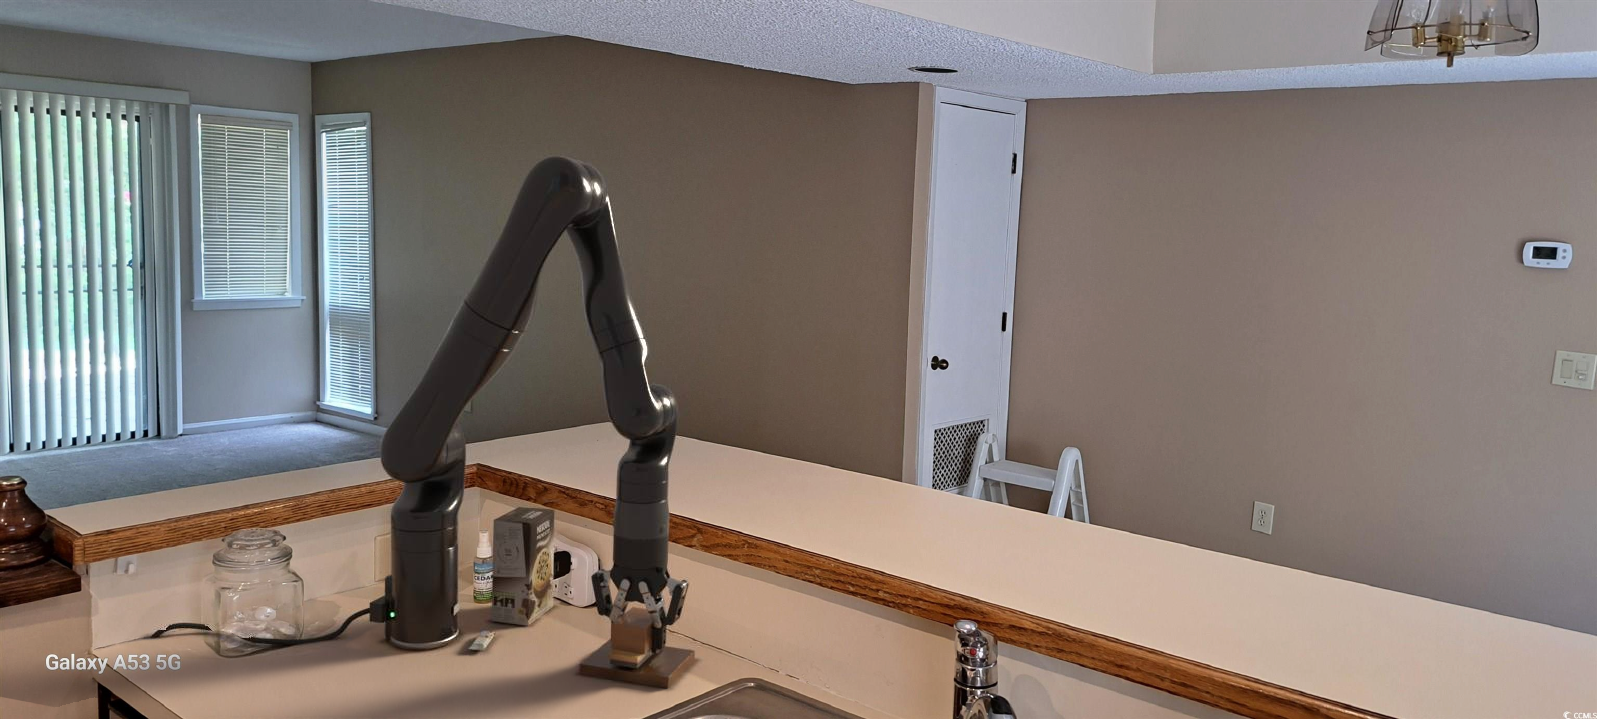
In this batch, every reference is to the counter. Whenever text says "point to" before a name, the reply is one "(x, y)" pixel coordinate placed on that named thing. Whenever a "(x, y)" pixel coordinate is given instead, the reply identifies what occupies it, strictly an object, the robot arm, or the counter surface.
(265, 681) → the counter surface
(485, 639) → the granola bar
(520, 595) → the coffee box
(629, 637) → the stepped wooden block
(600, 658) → the board
